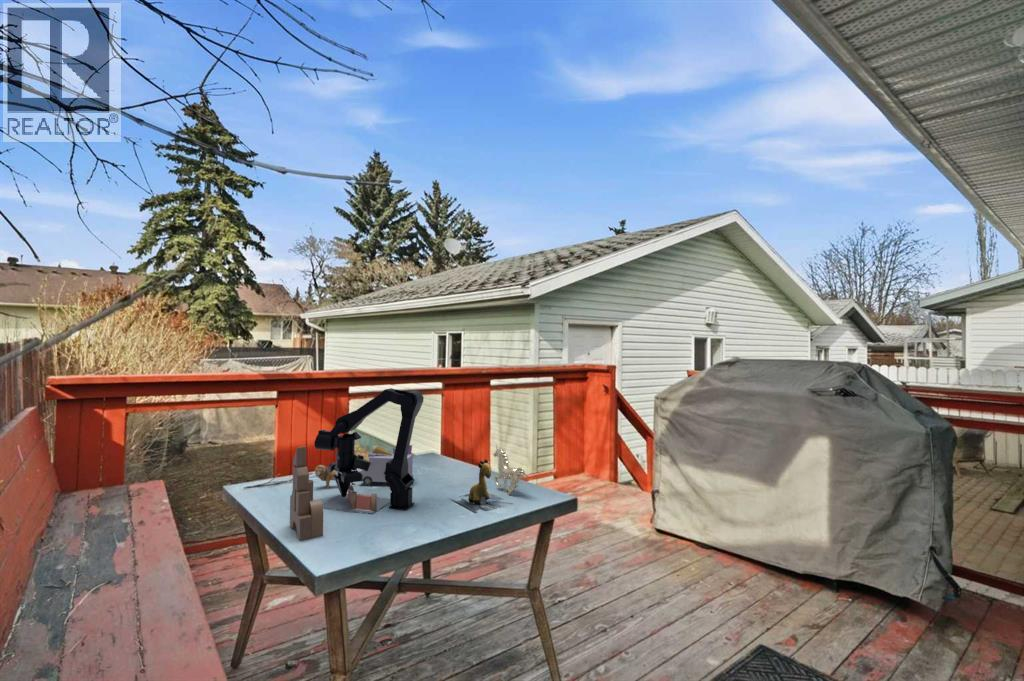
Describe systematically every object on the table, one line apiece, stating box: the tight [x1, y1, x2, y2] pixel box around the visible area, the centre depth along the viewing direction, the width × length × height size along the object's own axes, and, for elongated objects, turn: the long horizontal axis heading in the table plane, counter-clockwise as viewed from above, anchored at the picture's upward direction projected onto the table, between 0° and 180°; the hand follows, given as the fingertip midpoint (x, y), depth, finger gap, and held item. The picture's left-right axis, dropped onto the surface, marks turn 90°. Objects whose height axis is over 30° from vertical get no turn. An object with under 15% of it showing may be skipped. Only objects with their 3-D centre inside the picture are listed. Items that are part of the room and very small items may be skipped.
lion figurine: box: [314, 464, 357, 490], centre depth 188 cm, size 15×5×9 cm, turn 106°
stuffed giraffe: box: [451, 458, 514, 514], centre depth 174 cm, size 16×18×16 cm
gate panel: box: [347, 484, 356, 503], centre depth 170 cm, size 10×1×4 cm, turn 25°
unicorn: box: [493, 444, 527, 496], centre depth 184 cm, size 20×4×17 cm, turn 37°
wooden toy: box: [289, 445, 324, 541], centre depth 146 cm, size 16×7×25 cm, turn 35°
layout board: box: [322, 493, 390, 515], centre depth 170 cm, size 21×15×1 cm
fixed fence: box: [351, 491, 378, 511], centre depth 163 cm, size 9×2×6 cm, turn 75°
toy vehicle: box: [359, 444, 414, 486], centre depth 193 cm, size 9×20×15 cm, turn 88°
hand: (343, 496), depth 170 cm, fingers closed
